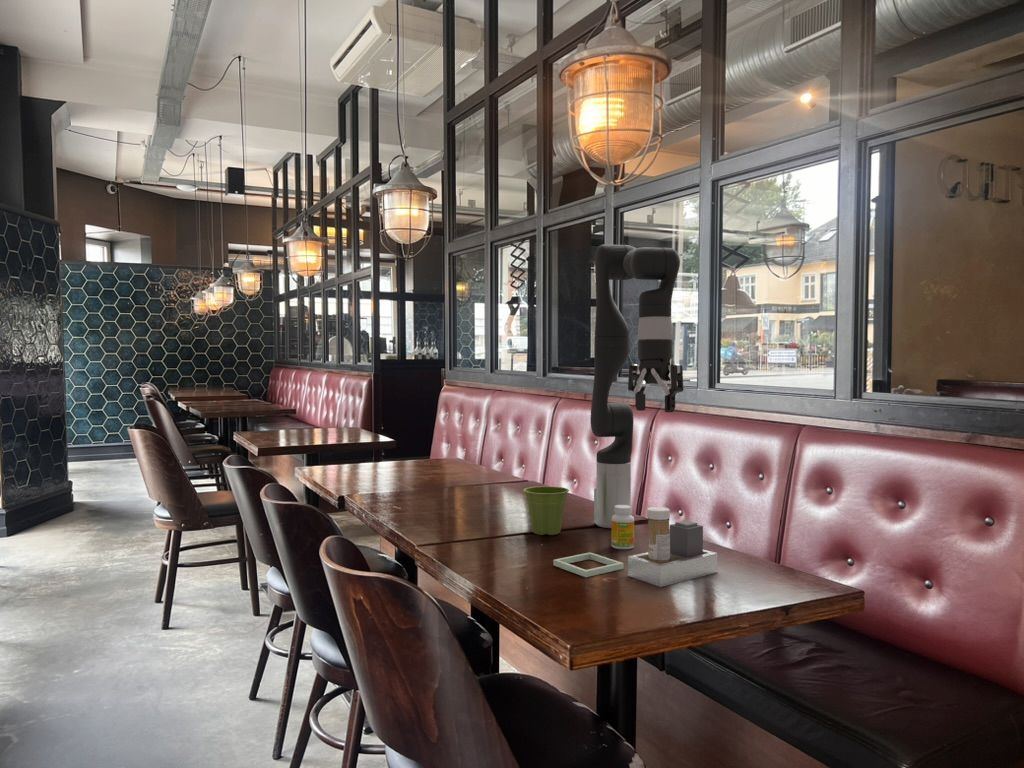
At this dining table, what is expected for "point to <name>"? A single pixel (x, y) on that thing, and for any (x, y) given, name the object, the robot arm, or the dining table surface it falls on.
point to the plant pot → (546, 508)
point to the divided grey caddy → (671, 568)
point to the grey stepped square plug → (686, 539)
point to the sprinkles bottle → (658, 534)
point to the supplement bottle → (622, 528)
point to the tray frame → (610, 566)
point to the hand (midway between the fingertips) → (654, 411)
